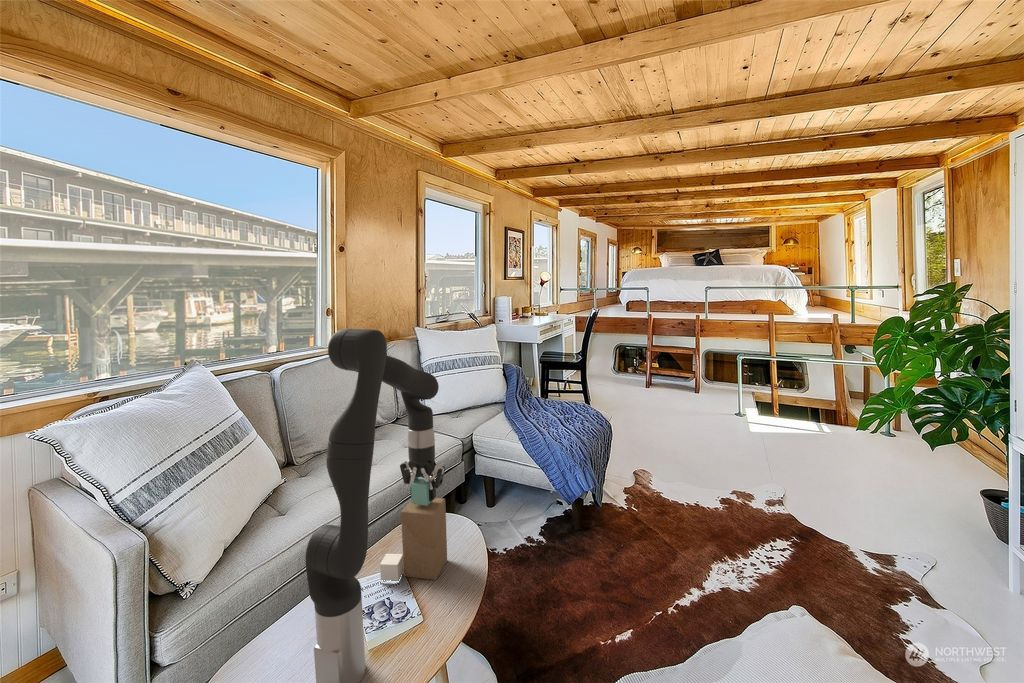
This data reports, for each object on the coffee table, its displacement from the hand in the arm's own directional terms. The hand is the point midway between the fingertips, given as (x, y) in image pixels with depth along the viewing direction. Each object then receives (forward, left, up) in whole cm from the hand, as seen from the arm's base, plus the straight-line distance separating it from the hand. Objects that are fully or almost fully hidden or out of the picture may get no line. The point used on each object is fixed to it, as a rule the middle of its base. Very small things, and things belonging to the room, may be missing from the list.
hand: (423, 498), depth 128 cm
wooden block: (0, 0, -22) cm, 22 cm away
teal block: (0, 0, -1) cm, 1 cm away
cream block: (-7, +7, -22) cm, 24 cm away
